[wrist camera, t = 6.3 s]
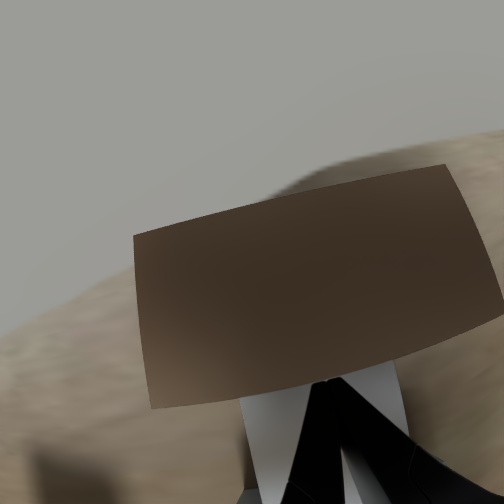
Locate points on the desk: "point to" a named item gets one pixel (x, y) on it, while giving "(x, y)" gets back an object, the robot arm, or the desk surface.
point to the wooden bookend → (309, 302)
